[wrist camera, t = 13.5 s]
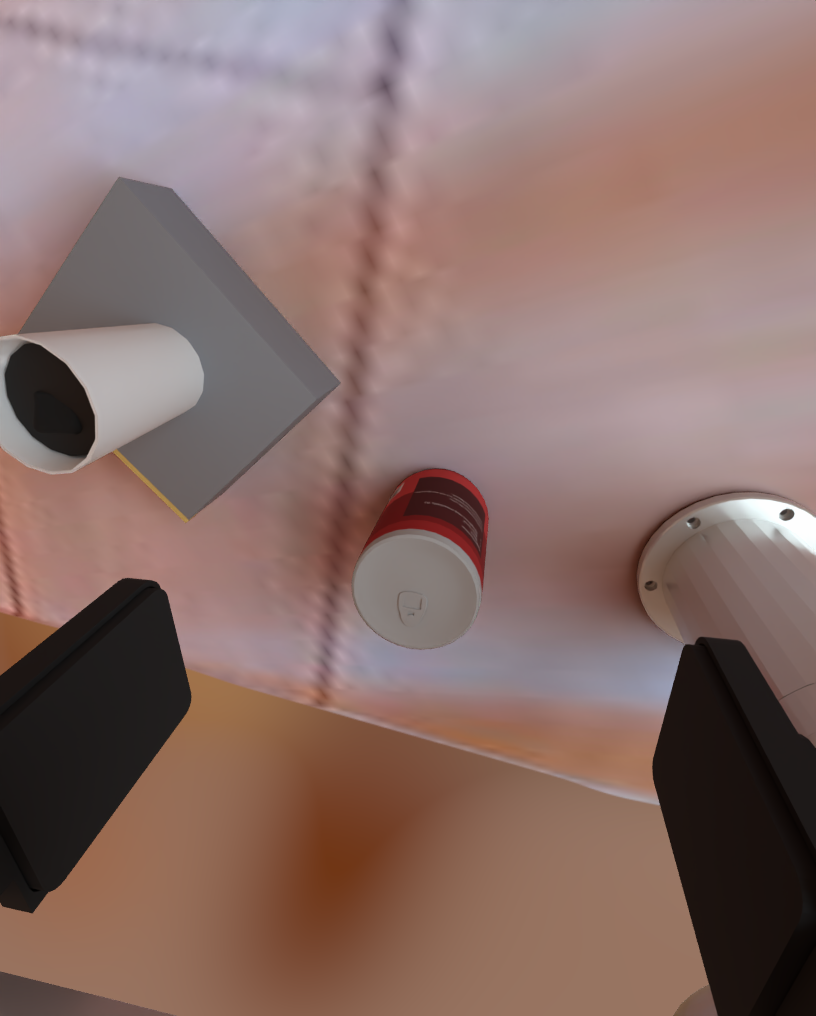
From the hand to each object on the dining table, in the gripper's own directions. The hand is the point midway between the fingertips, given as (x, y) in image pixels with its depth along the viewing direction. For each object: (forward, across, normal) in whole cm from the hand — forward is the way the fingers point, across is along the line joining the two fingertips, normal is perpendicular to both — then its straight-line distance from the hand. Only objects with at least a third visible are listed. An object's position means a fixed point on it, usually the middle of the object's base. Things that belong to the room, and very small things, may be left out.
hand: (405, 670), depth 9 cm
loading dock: (+28, +20, -1) cm, 35 cm away
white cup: (+24, +20, -1) cm, 31 cm away
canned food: (+28, +3, +10) cm, 30 cm away
